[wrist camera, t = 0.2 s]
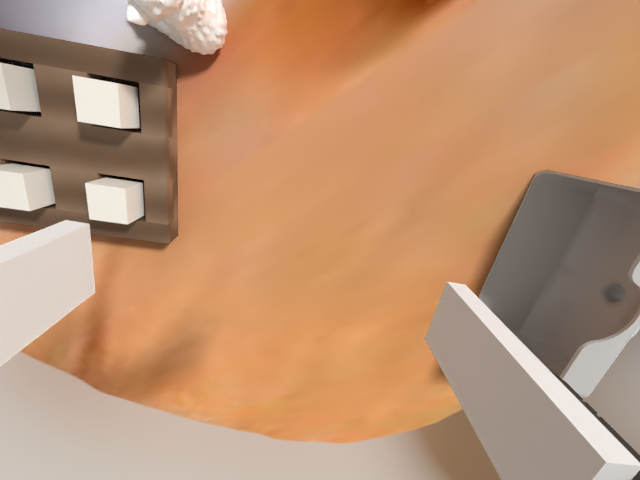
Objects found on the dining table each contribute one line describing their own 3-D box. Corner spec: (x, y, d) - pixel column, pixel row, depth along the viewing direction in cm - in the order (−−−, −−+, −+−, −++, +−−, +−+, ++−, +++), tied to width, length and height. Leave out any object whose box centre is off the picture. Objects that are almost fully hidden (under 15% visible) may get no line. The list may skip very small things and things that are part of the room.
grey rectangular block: (554, 341, 48) (632, 410, 37) (463, 327, 47) (514, 394, 35) (644, 192, 40) (784, 221, 28) (536, 167, 38) (638, 187, 26)
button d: (106, 177, 34) (84, 182, 31) (142, 182, 34) (125, 188, 31) (109, 210, 36) (89, 219, 32) (144, 215, 36) (127, 224, 33)
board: (-52, 22, 30) (-95, 10, 27) (176, 64, 32) (161, 57, 29) (-7, 210, 37) (-37, 218, 34) (177, 235, 39) (166, 245, 36)
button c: (97, 80, 31) (71, 75, 27) (137, 87, 31) (117, 83, 28) (101, 121, 32) (77, 121, 29) (139, 128, 32) (120, 128, 29)
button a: (-9, 61, 30) (-48, 54, 26) (34, 69, 30) (1, 62, 27) (0, 105, 31) (-36, 102, 28) (41, 111, 31) (10, 110, 28)
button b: (12, 163, 33) (-21, 167, 30) (50, 168, 34) (22, 173, 30) (19, 198, 35) (-11, 205, 31) (55, 203, 35) (29, 211, 32)
